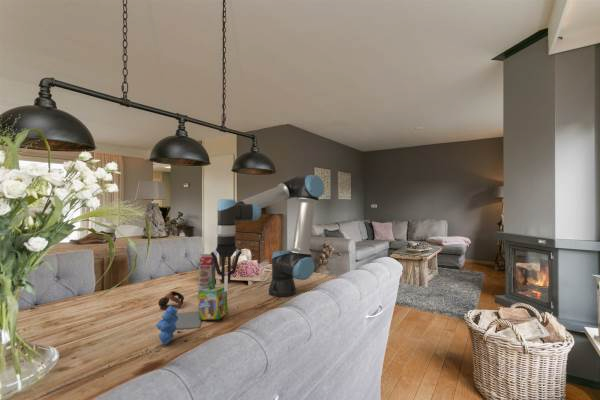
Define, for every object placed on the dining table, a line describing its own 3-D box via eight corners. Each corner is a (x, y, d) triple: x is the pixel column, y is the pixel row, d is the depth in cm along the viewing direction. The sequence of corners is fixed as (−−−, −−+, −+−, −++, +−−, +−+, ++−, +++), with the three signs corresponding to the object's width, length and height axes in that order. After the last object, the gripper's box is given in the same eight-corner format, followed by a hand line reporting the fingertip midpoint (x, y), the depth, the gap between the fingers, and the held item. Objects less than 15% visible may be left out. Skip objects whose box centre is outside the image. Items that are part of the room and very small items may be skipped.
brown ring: (167, 304, 141) (177, 289, 142) (180, 315, 138) (190, 300, 139) (149, 305, 130) (159, 289, 131) (162, 318, 127) (172, 301, 128)
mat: (203, 312, 130) (203, 311, 130) (199, 328, 113) (199, 326, 113) (170, 314, 127) (170, 313, 127) (160, 331, 110) (160, 329, 110)
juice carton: (202, 293, 157) (203, 253, 157) (215, 294, 157) (215, 253, 157) (198, 297, 150) (198, 255, 151) (210, 297, 150) (211, 255, 150)
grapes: (162, 334, 107) (163, 301, 108) (181, 334, 108) (182, 301, 108) (148, 350, 96) (148, 313, 96) (169, 349, 96) (169, 313, 96)
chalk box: (218, 320, 117) (217, 282, 119) (198, 320, 119) (196, 283, 120) (228, 313, 126) (227, 278, 128) (209, 313, 128) (208, 279, 129)
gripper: (241, 234, 129) (241, 287, 129) (211, 234, 126) (210, 289, 126) (242, 235, 122) (241, 292, 121) (210, 236, 119) (209, 294, 119)
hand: (226, 290), depth 124 cm, fingers closed
